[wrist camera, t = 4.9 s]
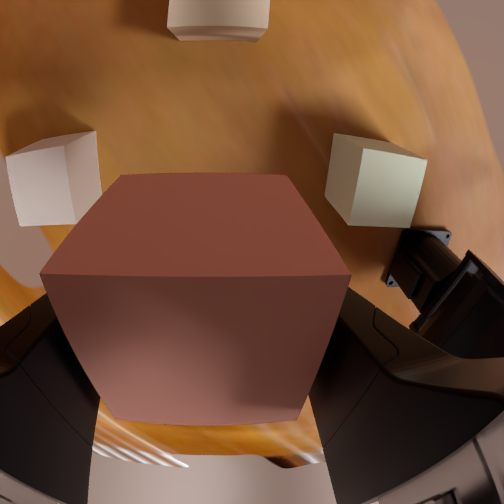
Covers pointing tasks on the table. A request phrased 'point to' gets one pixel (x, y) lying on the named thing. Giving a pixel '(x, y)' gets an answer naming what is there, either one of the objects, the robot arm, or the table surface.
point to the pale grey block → (55, 179)
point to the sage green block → (373, 181)
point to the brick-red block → (199, 297)
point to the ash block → (218, 19)
